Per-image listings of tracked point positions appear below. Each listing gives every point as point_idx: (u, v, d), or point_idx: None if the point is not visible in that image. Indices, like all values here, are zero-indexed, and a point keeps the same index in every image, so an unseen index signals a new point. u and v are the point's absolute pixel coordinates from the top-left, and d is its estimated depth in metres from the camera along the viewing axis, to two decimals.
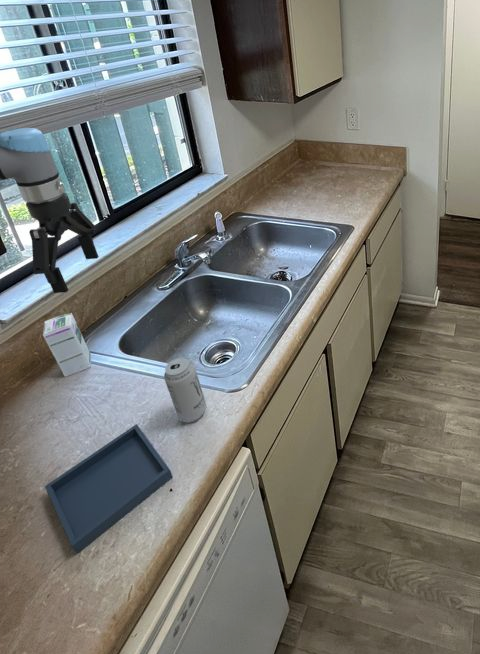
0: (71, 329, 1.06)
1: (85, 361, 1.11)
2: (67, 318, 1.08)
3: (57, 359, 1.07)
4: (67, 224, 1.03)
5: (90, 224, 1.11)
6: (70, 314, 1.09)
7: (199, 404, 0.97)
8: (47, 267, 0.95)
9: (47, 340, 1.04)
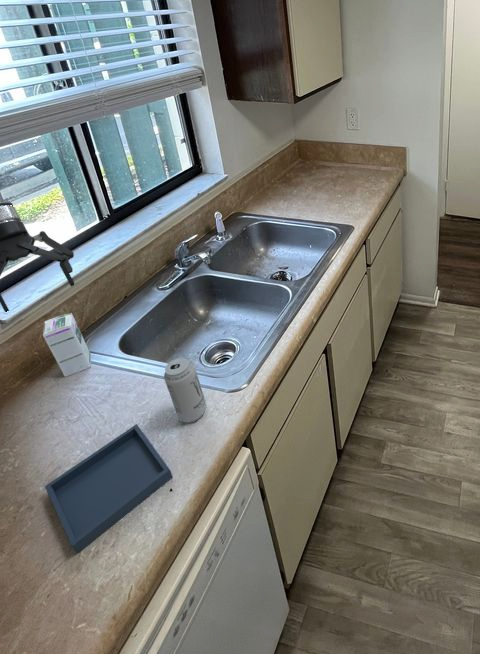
0: (71, 329, 1.06)
1: (85, 361, 1.11)
2: (67, 318, 1.08)
3: (57, 359, 1.07)
4: (24, 249, 1.12)
5: (66, 251, 1.17)
6: (70, 314, 1.09)
7: (199, 404, 0.97)
8: None
9: (47, 340, 1.04)
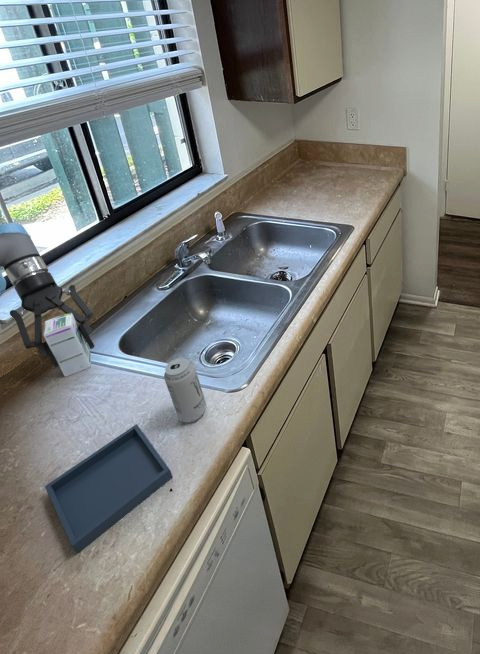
0: (71, 329, 1.06)
1: (85, 361, 1.11)
2: (67, 318, 1.08)
3: (57, 359, 1.07)
4: None
5: (86, 311, 1.13)
6: (70, 314, 1.10)
7: (199, 404, 0.97)
8: (27, 341, 1.04)
9: (47, 340, 1.04)
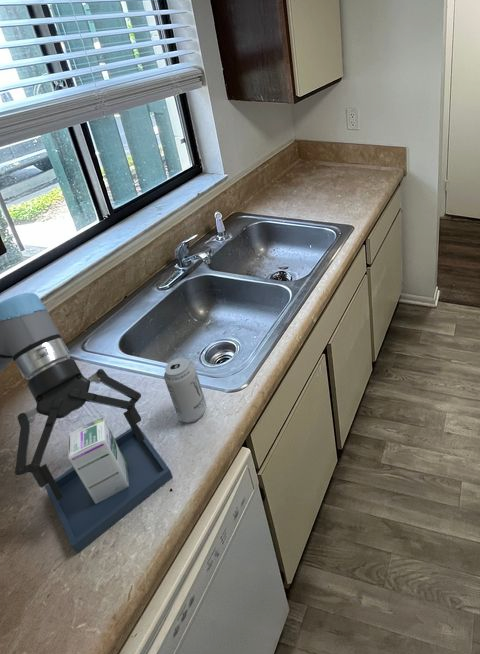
0: (105, 444, 0.79)
1: (122, 481, 0.84)
2: (98, 428, 0.81)
3: (86, 484, 0.80)
4: (78, 400, 0.83)
5: (131, 394, 0.87)
6: (102, 420, 0.82)
7: (199, 404, 0.97)
8: (21, 466, 0.75)
9: (74, 463, 0.77)
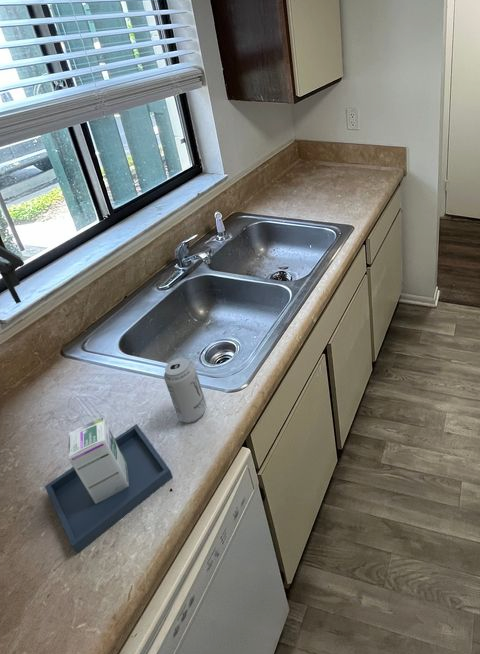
0: (105, 444, 0.79)
1: (122, 481, 0.84)
2: (98, 428, 0.81)
3: (86, 484, 0.80)
4: None
5: (13, 261, 0.85)
6: (102, 420, 0.82)
7: (199, 404, 0.97)
8: None
9: (74, 463, 0.77)
